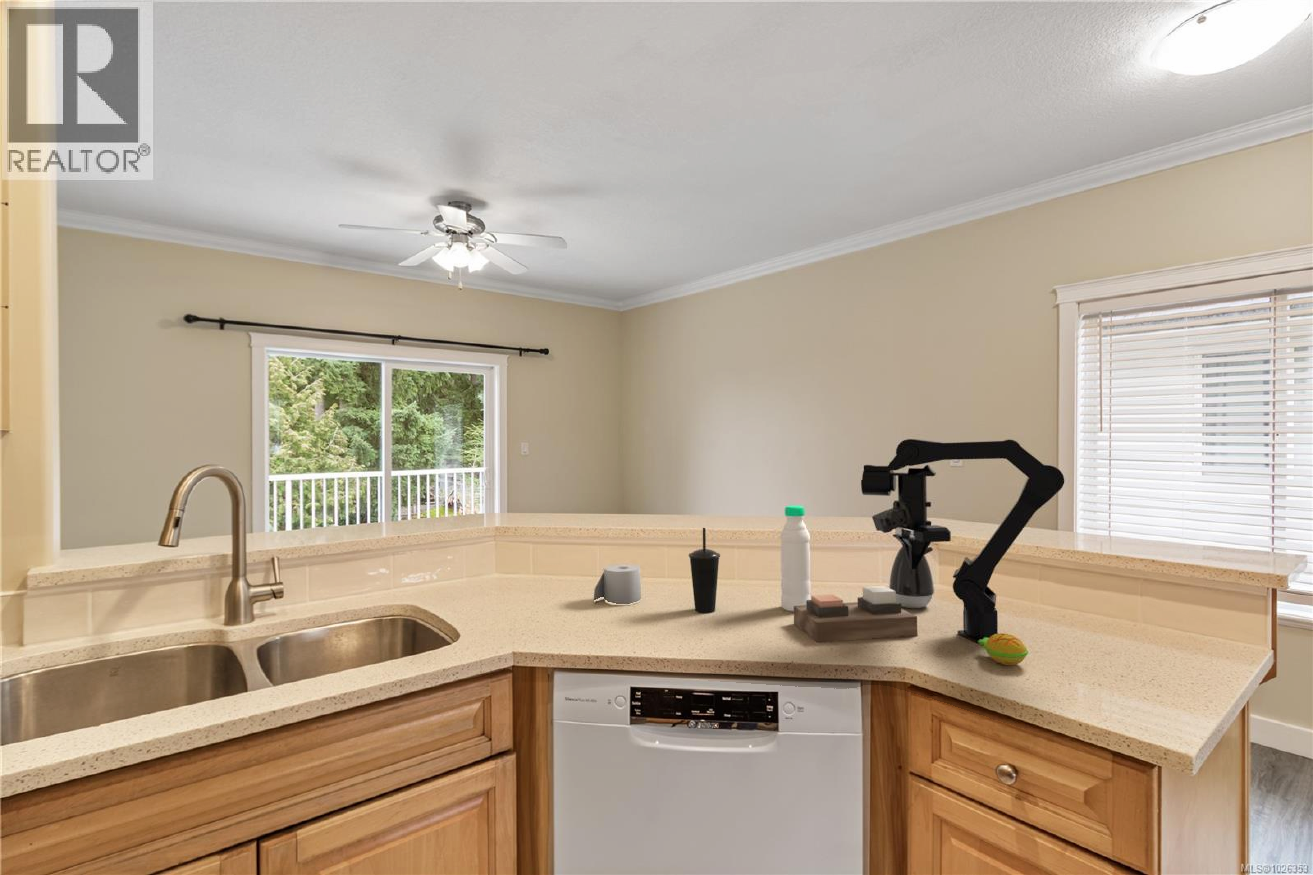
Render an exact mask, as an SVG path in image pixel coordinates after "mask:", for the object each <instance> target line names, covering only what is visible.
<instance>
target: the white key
mask: <svg viewBox="0 0 1313 875" xmlns="http://www.w3.org/2000/svg"><path fill="white" fill-rule="evenodd" d="M862 597H863V599H864V600H866V601H868V602H870V603H872V604H888V603H896V591H894V590H892V589H889V587H887V586H885V585H876V586H875V585H874V586H862Z"/></svg>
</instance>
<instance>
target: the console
mask: <svg viewBox="0 0 1313 875" xmlns="http://www.w3.org/2000/svg"><path fill="white" fill-rule="evenodd" d="M793 625H794V626H796V627H798V628H799V629H800V630H801V631H803V632H804V633H805V634H807V635H808V637H810V638H811V639H813V640H814V641H815V642H816V643H826V642H828V641H829V642H840V641H842V642H843V641H856V640H871V639H872V638H875V639H887V638H886V637H890V638H900V637H899V636H905V637H915V636H916V637H917V636H918V616H917V615H916V614H915V615H914V613H910V612H909V611H907V610H905V609H903V608H902V606H901V603H899V602H897V601H896V603H888V604H872V603H870V602H868V601H866V600H864V599H863V596H858V597H857V601H854V602H843V606H836V607H819V606H817V605H815V604H814V603H812V602H811V600H806V605H800V606H794V612H793ZM872 640H873V639H872Z"/></svg>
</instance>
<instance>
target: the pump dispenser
mask: <svg viewBox="0 0 1313 875" xmlns="http://www.w3.org/2000/svg"><path fill="white" fill-rule="evenodd" d="M933 550H934V549H933V547H932V546H928V548H927V549H926V551H925V553H924V555H923V557H922V559H921V561H920V563H919V565H918V566H917V568H916V569H911V568H910V567H909V564H908V561H907V558H906V555H905V552H904V549H903V546H902V545H901V547H900V548H899V550H898V551H897V553H896V555H895V557H894V560H893V563H892V566H891V571H890V576H889V582H888V583H889V584H888V588H889V589H892V590H894V591H896V601H897V602H899V603H901V607H903V608H906V609H921V608H924V607H927V606H928V605H929V604H930V602H931V600H932V599H933V598H932V597H933V595H934V593H935V586H934V580H933V574H932V571H931V568H930V564H929V562H928V559H927V558H926V555H927V554H930V553H931V552H933Z"/></svg>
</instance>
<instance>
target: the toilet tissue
mask: <svg viewBox="0 0 1313 875" xmlns="http://www.w3.org/2000/svg"><path fill="white" fill-rule="evenodd" d="M641 570H642V569H641V566H639V565H637V564H630V563H629V564H627V563H623V564H613V565H607V566H605V567H604V568H603V573H602V574H601V576H600V578H599V580H598V582H597V584H596V585H595V587H594V593H593V601H594V600H596V599H598V598H600V597H604V599H605V600H607V601H608V602H612V603H616V604H630V603H633V602H637V601H639V600H640V599H641V600H642V588H641V587H642V584H641V582H642V581H641V580H642V578H641V576H642V573H641Z"/></svg>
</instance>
